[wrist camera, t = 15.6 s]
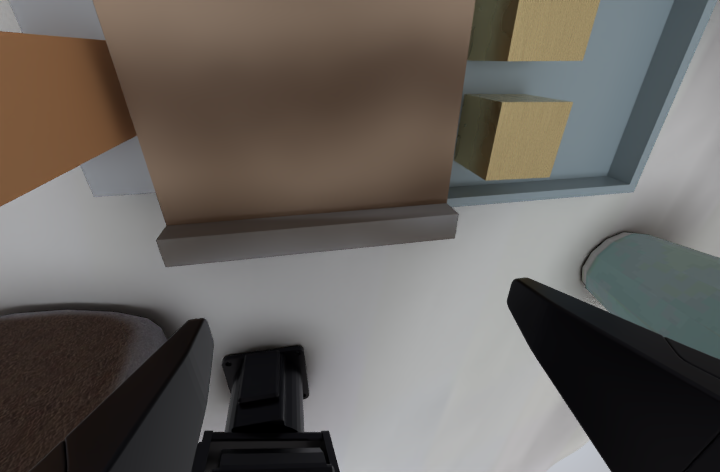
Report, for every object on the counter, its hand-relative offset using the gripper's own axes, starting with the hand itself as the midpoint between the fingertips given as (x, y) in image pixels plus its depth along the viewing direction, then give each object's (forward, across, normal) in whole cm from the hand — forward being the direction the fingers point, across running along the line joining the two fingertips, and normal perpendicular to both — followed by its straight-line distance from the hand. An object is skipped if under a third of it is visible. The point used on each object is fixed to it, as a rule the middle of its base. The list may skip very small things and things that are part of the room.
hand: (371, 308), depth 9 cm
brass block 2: (+10, -8, -2) cm, 14 cm away
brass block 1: (+10, -8, -8) cm, 16 cm away
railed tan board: (+13, +1, -5) cm, 14 cm away
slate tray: (+13, -13, -5) cm, 19 cm away
